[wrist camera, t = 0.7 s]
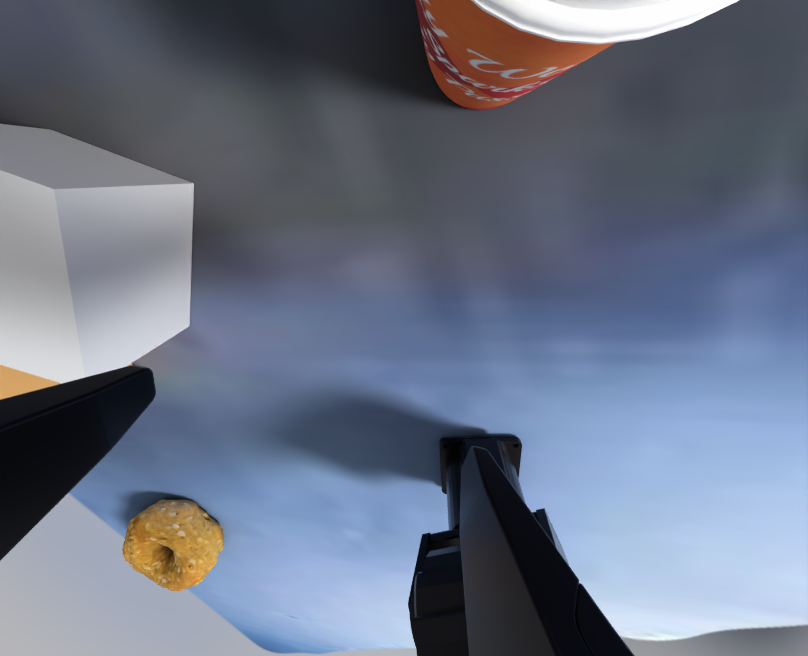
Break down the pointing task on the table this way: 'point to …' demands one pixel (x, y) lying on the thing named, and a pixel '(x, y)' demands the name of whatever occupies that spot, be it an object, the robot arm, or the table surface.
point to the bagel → (173, 543)
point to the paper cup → (534, 39)
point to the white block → (88, 256)
